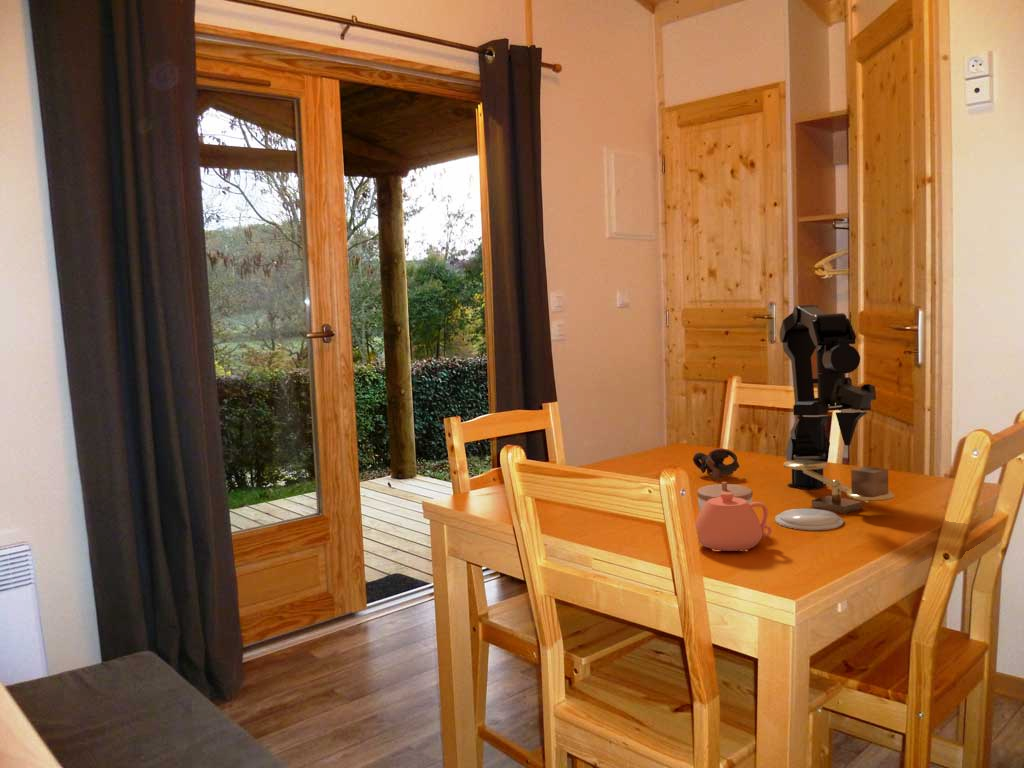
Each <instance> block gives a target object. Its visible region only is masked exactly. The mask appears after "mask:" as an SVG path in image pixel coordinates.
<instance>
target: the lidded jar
mask: <svg viewBox="0 0 1024 768" xmlns="http://www.w3.org/2000/svg"><path fill="white" fill-rule="evenodd" d="M723 492H731V493H734V496H733V497H737V498H742V499H745V500H746V501H747V502H748V503H749V504H750V503H752V502H753V490H752V489H751V488H750V487H749V486H745V485H740V484H736V483H735V484H732V483H728V482H727V481H722V482H721V483H716V484H708V485H704V486H702V487H699V488H698V489H697V491H696V495H697V501H698V502H697V504H698V509H699V512H700V511H701V510H702V508H703V506H704V505H705V503H706V502H707V501H708V500H709V499H712V498H717V497H721V495H720V493H723Z"/></svg>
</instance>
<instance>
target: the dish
mask: <svg viewBox="0 0 1024 768" xmlns="http://www.w3.org/2000/svg"><path fill="white" fill-rule="evenodd" d="M774 517H775V518H774V521H776V522H775V523H776V524H777V523H778V524H777V525H779V526H781V525H782V526H781V527H784V528H787V527H788V529H792V528H793V530H798V529H799V530H800V531H826V530H832V529H837V528H840V527H842V526H843V524H844V519H843V517H841V516H840V515H837V514H836V512H833V511H829V510H824V509H819V508H794V509H787V510H784V511H782V512H781V513H779V514H777V515H775V516H774Z"/></svg>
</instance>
